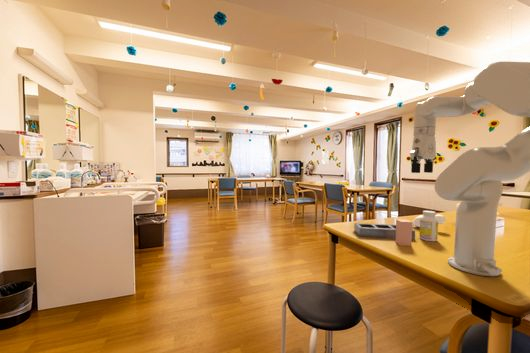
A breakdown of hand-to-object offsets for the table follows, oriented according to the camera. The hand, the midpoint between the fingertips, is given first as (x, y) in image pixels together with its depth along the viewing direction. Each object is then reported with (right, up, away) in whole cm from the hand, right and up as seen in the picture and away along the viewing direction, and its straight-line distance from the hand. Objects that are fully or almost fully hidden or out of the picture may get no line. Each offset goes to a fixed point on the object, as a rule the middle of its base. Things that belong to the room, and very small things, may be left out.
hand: (422, 172), depth 96 cm
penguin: (+20, -30, +23) cm, 43 cm away
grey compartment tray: (-10, -30, +12) cm, 34 cm away
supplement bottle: (+7, -31, +6) cm, 32 cm away
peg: (-8, -31, 0) cm, 32 cm away
